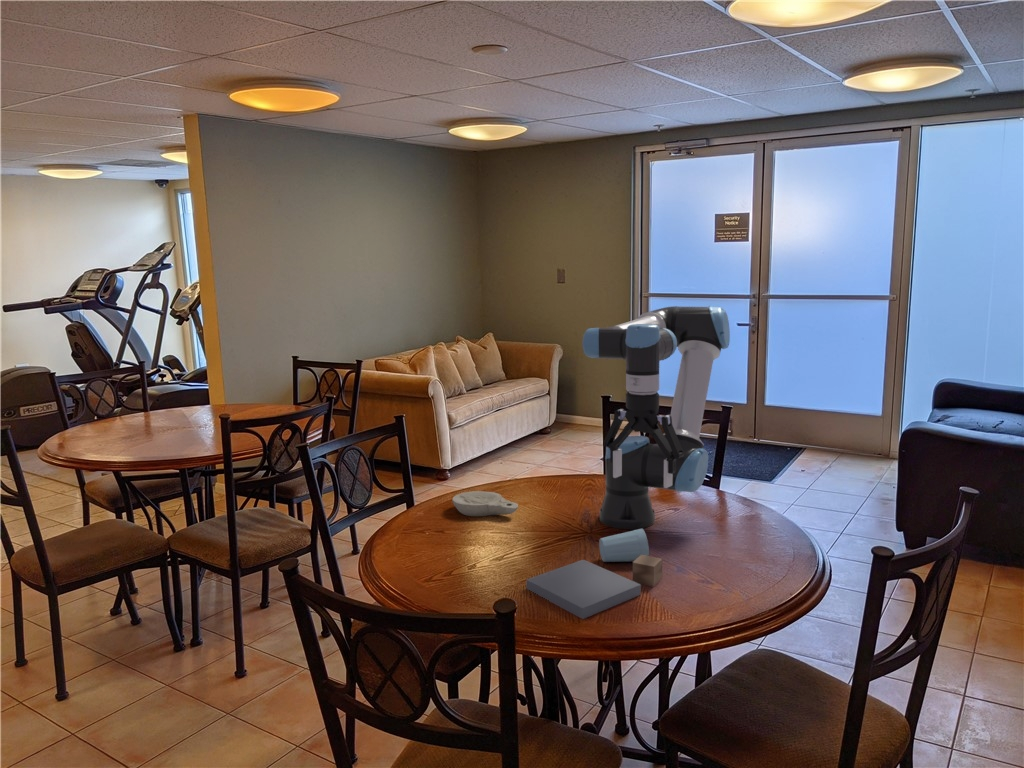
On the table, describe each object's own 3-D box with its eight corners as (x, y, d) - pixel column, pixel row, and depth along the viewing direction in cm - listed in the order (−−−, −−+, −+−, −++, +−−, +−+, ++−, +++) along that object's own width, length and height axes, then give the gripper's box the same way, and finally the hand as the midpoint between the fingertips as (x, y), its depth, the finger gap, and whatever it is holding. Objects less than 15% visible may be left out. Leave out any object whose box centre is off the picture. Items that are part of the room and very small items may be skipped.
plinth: (526, 590, 162) (526, 579, 162) (583, 569, 172) (583, 559, 172) (582, 620, 148) (582, 608, 148) (640, 595, 158) (640, 584, 158)
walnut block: (632, 583, 165) (632, 562, 164) (641, 575, 169) (641, 554, 168) (653, 588, 162) (653, 566, 161) (662, 579, 166) (662, 558, 165)
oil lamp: (531, 513, 212) (531, 497, 211) (504, 529, 200) (503, 511, 199) (472, 502, 223) (471, 486, 222) (443, 516, 211) (442, 499, 211)
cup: (598, 553, 180) (639, 547, 181) (605, 573, 173) (648, 567, 174) (597, 527, 177) (640, 522, 178) (605, 547, 170) (649, 541, 171)
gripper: (588, 389, 174) (588, 476, 178) (683, 399, 158) (682, 495, 161) (606, 384, 180) (606, 469, 183) (700, 394, 164) (698, 487, 167)
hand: (642, 481), depth 172 cm, fingers open, 13 cm apart
